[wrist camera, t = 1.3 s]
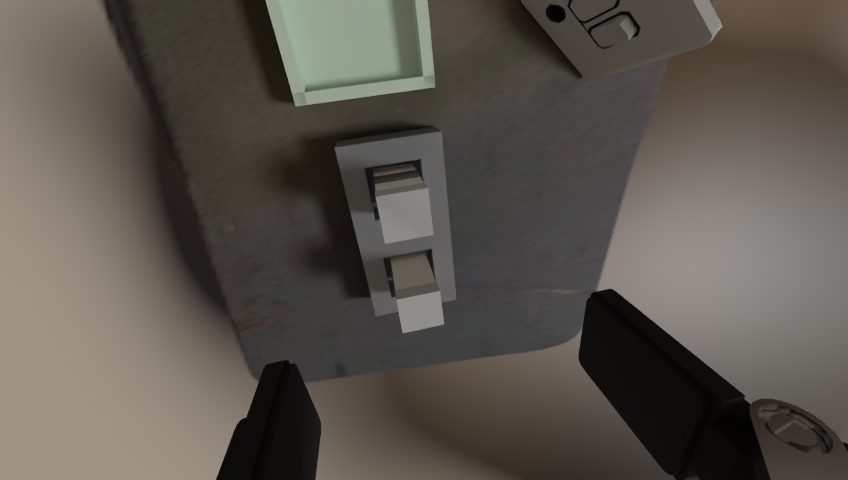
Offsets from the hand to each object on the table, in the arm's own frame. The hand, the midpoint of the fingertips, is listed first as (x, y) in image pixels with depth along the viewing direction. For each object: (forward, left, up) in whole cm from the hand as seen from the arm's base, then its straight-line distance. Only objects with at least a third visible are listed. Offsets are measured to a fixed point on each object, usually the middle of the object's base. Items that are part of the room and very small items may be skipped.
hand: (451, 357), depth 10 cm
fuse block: (+4, 0, -20) cm, 20 cm away
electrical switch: (-11, +16, -20) cm, 28 cm away
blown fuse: (0, 0, -20) cm, 20 cm away
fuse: (+8, 0, -20) cm, 21 cm away
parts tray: (-13, -1, -20) cm, 24 cm away
